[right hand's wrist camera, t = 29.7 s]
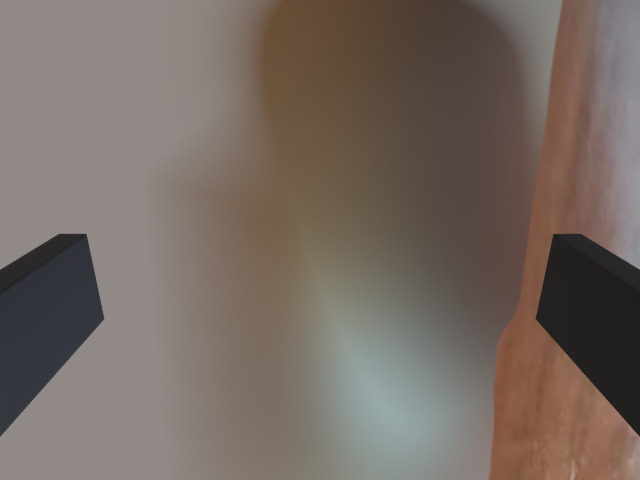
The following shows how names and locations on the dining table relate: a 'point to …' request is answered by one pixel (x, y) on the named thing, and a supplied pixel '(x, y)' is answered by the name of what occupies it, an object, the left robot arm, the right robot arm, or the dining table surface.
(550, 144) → the dining table surface
